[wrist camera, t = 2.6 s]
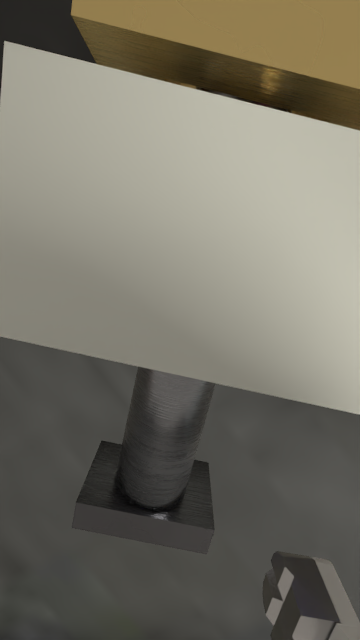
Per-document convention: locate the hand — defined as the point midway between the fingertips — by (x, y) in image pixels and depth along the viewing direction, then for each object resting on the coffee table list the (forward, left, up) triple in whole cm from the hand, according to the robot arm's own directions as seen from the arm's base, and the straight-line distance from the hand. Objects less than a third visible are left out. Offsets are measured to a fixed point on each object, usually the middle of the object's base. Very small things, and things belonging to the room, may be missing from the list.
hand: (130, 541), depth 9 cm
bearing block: (0, -10, -12) cm, 16 cm away
